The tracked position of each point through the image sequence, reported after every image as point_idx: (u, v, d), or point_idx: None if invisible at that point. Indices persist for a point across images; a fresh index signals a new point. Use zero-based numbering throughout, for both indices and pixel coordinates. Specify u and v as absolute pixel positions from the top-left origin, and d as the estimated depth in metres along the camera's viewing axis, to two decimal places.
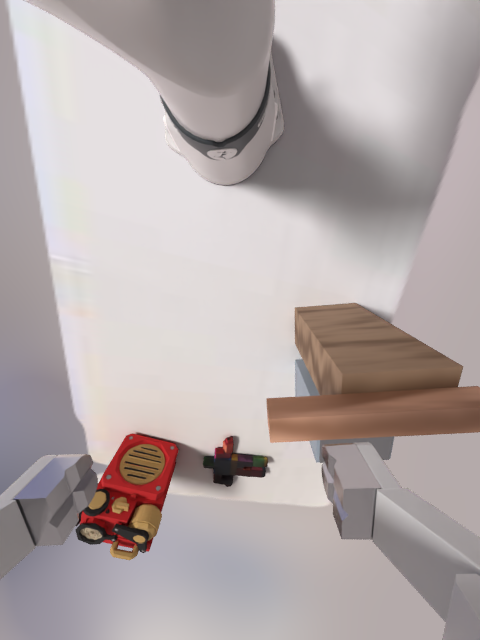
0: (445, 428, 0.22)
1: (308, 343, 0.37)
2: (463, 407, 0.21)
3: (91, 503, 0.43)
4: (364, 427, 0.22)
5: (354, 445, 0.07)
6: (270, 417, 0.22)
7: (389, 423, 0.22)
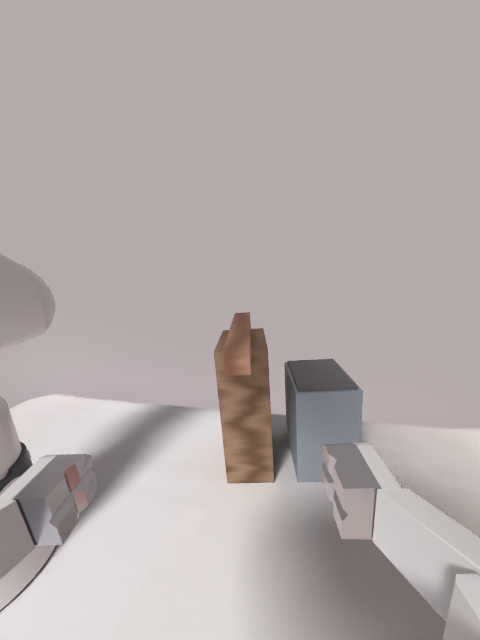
0: (245, 317, 0.42)
1: (239, 429, 0.37)
2: None
3: None
4: (240, 329, 0.34)
5: (354, 445, 0.07)
6: None
7: (239, 325, 0.37)
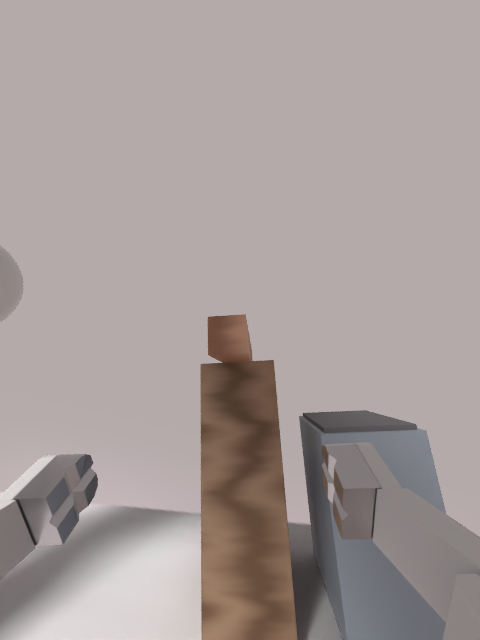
0: None
1: (231, 506, 0.22)
2: None
3: None
4: None
5: (354, 445, 0.07)
6: (208, 319, 0.18)
7: None
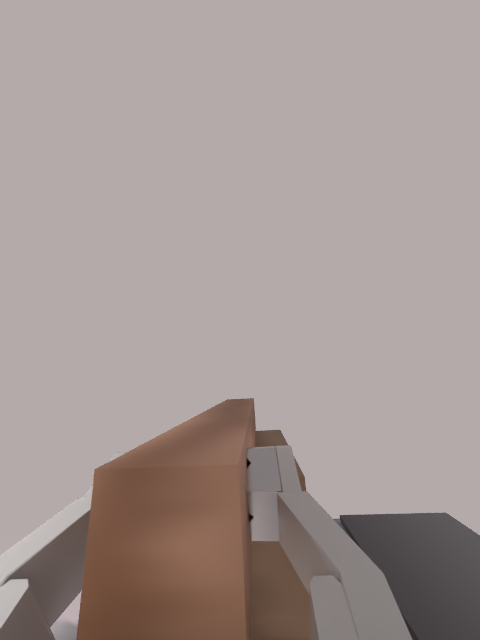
0: (245, 402, 0.21)
1: None
2: (222, 403, 0.22)
3: None
4: (227, 412, 0.13)
5: (273, 448, 0.07)
6: (97, 477, 0.05)
7: (228, 408, 0.16)
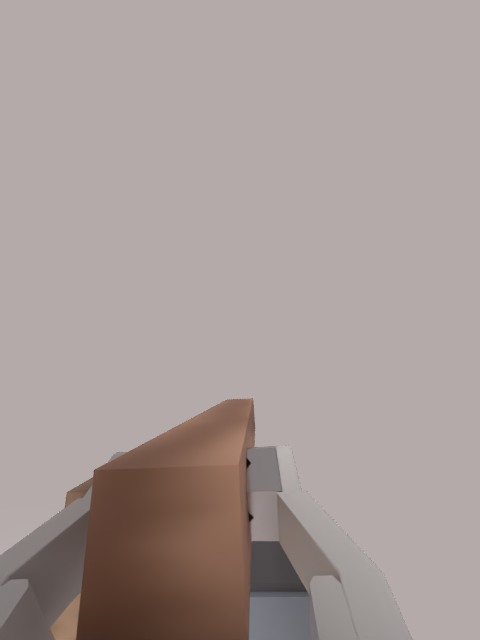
0: (244, 402, 0.21)
1: None
2: (221, 403, 0.22)
3: None
4: (226, 412, 0.13)
5: (273, 448, 0.07)
6: (97, 478, 0.05)
7: (227, 408, 0.16)
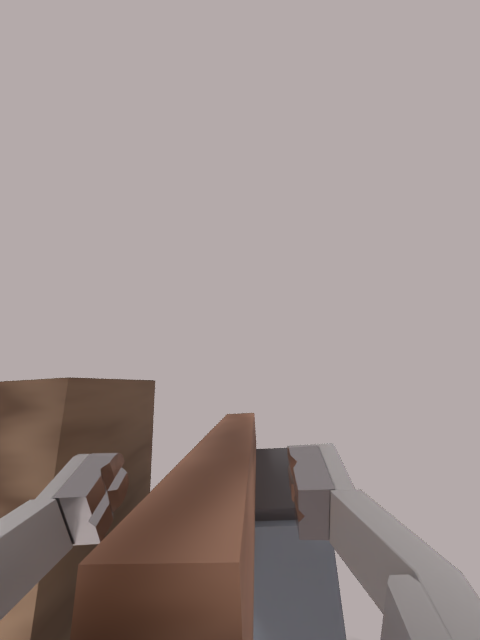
0: (245, 420, 0.20)
1: None
2: (222, 420, 0.22)
3: None
4: (227, 441, 0.13)
5: (317, 446, 0.07)
6: (82, 571, 0.04)
7: (228, 433, 0.15)
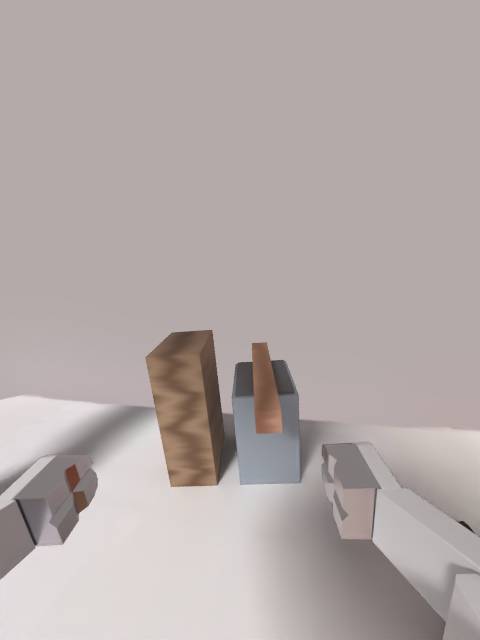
0: (264, 352, 0.42)
1: (178, 433, 0.37)
2: (252, 350, 0.43)
3: None
4: (263, 372, 0.35)
5: (354, 445, 0.07)
6: None
7: (261, 365, 0.37)
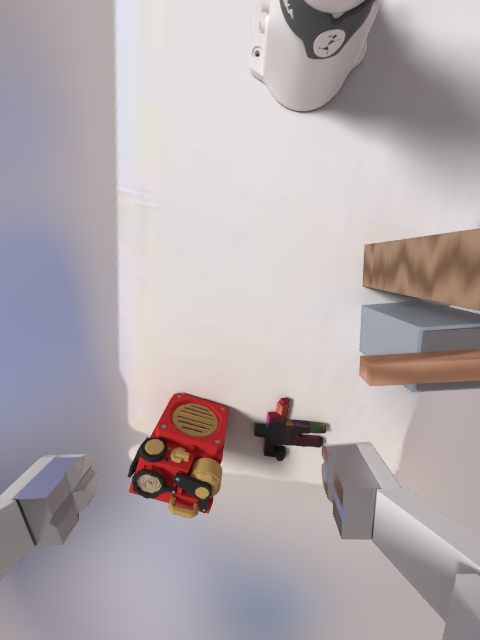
0: None
1: (398, 259, 0.35)
2: None
3: (149, 448, 0.38)
4: (443, 372, 0.29)
5: (354, 445, 0.07)
6: (371, 364, 0.30)
7: (463, 370, 0.29)
